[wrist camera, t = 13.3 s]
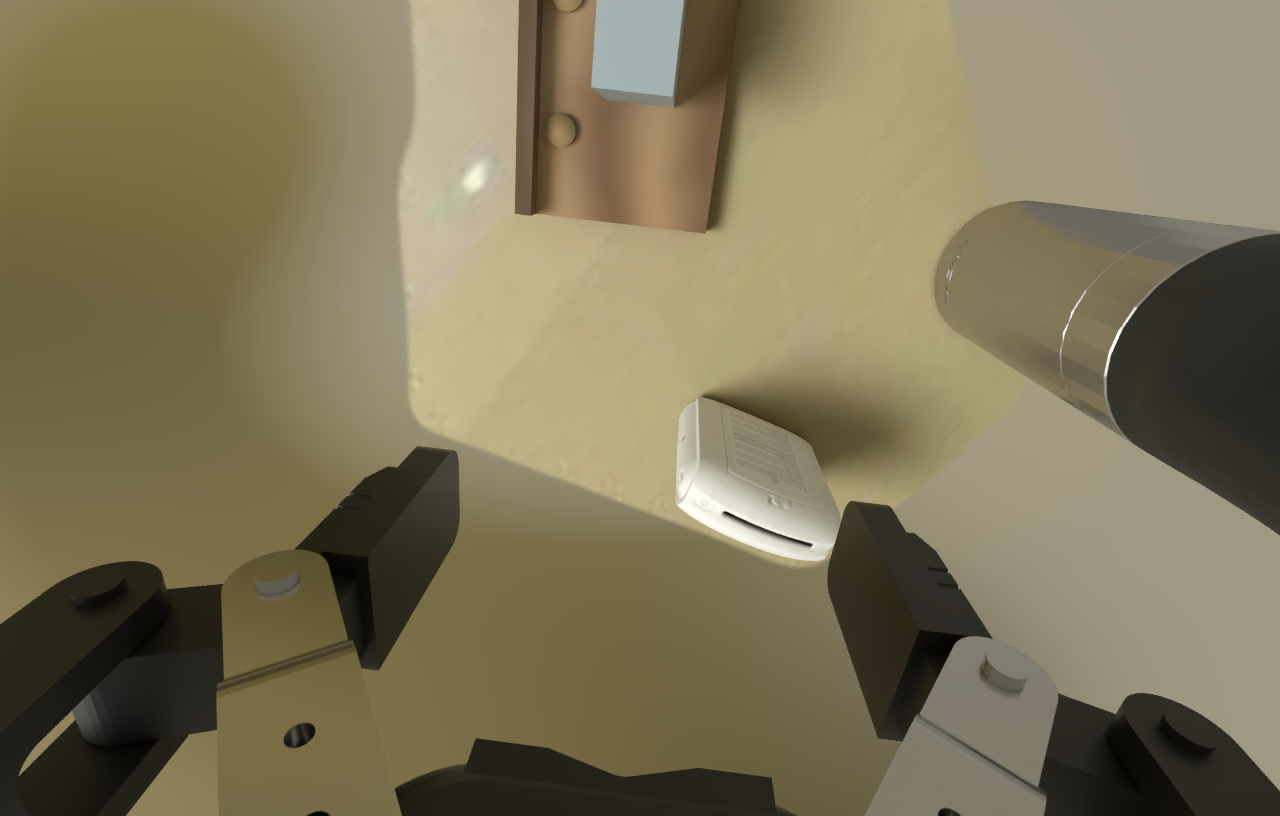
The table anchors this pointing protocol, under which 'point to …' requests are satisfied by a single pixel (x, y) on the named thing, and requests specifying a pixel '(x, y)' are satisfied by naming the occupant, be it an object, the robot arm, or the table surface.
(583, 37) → the board
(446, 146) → the table surface
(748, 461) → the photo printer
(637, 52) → the tall pale blue block
